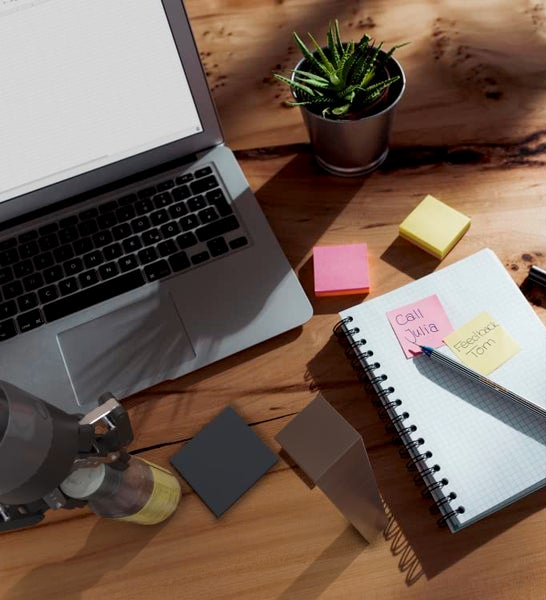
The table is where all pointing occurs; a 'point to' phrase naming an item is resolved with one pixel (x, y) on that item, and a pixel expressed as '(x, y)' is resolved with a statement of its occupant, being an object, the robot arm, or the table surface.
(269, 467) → the mat
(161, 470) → the sauce bottle
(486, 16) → the table surface
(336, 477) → the walnut post
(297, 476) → the table surface
